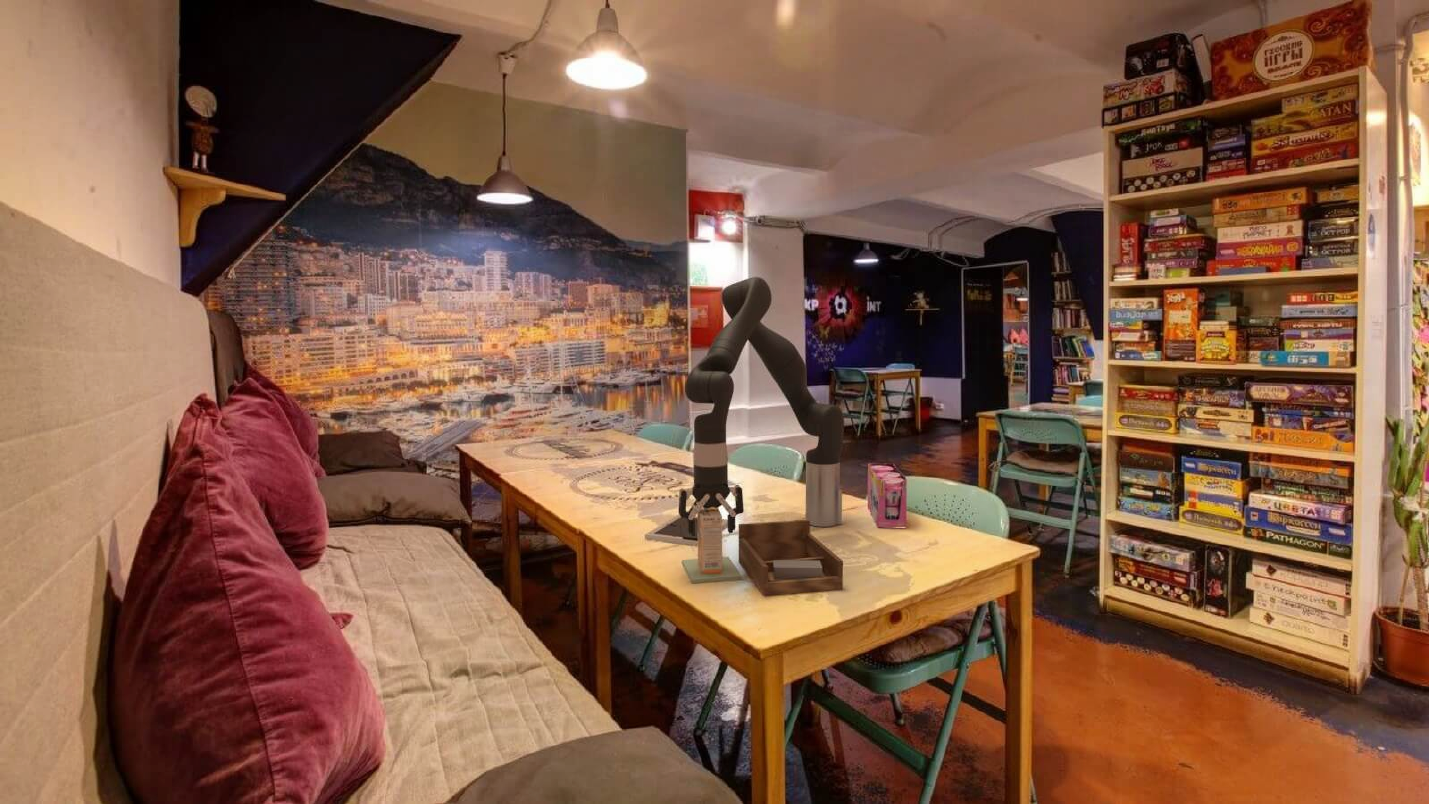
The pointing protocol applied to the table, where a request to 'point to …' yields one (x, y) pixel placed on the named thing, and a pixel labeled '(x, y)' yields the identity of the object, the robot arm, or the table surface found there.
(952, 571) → the table surface
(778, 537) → the rack
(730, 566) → the pad
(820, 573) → the upper offcut
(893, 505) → the gum box
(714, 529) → the supplement box
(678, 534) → the picture frame
